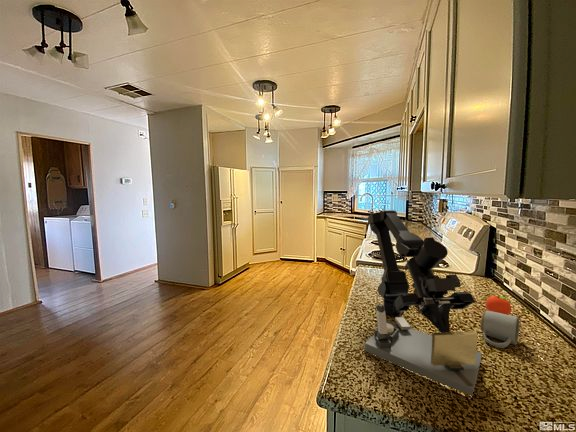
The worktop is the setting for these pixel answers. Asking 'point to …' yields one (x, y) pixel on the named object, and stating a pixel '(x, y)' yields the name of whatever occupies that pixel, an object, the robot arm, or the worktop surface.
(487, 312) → the ceramic mug
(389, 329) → the push button
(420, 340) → the panel
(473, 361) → the brass paddle
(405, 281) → the robot arm
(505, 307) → the red tomato
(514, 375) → the worktop surface
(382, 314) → the steel lever
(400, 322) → the block
